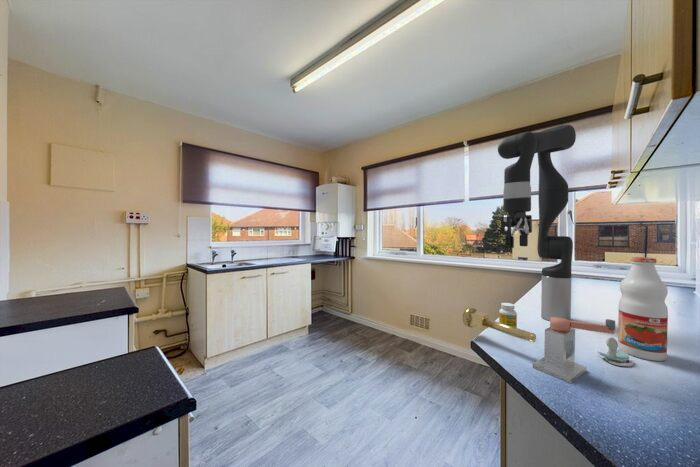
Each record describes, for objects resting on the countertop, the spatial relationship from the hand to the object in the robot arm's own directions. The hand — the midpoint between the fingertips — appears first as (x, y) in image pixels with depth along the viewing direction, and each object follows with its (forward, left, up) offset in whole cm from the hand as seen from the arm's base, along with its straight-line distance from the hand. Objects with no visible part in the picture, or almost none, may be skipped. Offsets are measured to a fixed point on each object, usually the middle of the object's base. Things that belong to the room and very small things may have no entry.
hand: (516, 247), depth 83 cm
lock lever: (+7, +19, -20) cm, 28 cm away
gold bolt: (+9, -1, -28) cm, 29 cm away
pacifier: (-9, +22, -31) cm, 39 cm away
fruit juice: (-21, +24, -31) cm, 44 cm away
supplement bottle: (-5, -5, -31) cm, 31 cm away
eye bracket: (+9, +15, -31) cm, 35 cm away
